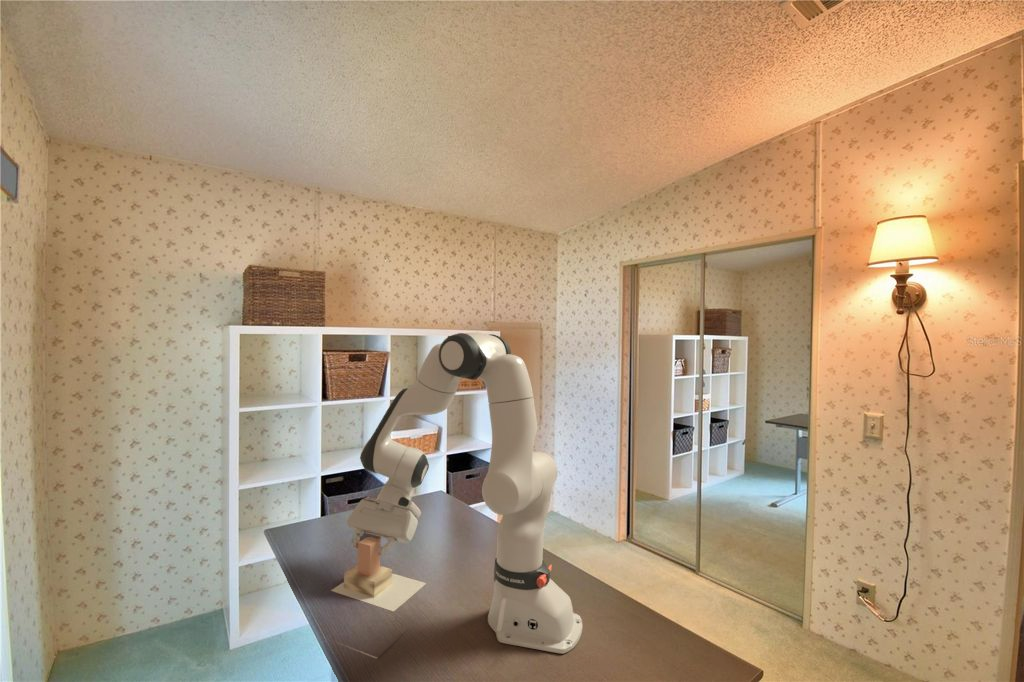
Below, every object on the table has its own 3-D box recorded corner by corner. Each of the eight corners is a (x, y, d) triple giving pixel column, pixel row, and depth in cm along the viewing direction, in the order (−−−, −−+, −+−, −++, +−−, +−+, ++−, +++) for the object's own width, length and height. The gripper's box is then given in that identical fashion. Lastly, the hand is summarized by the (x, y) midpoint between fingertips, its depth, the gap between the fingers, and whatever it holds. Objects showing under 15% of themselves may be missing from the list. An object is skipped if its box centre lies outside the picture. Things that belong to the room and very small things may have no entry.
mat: (426, 584, 124) (426, 583, 124) (393, 612, 111) (393, 611, 111) (367, 567, 132) (367, 566, 132) (330, 591, 119) (330, 590, 119)
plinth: (391, 584, 123) (392, 569, 123) (374, 597, 116) (374, 581, 116) (362, 575, 127) (362, 560, 127) (343, 587, 120) (344, 572, 120)
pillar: (379, 569, 122) (380, 539, 122) (369, 576, 119) (370, 545, 119) (367, 565, 124) (368, 536, 124) (357, 572, 120) (358, 542, 120)
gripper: (358, 490, 132) (331, 538, 123) (417, 503, 123) (393, 554, 115) (368, 501, 136) (343, 547, 127) (426, 514, 128) (403, 564, 119)
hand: (367, 551), depth 121 cm, fingers open, 7 cm apart
